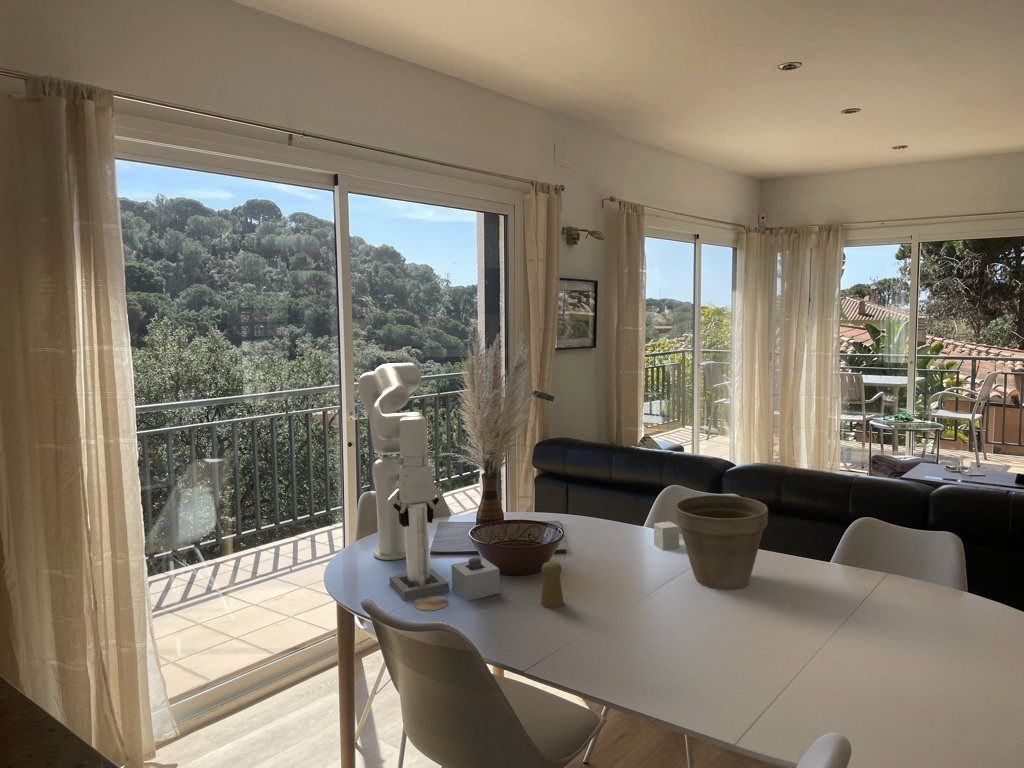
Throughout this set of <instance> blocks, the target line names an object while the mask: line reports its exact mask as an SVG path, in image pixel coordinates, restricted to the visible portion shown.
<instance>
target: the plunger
mask: <svg viewBox="0 0 1024 768" xmlns="http://www.w3.org/2000/svg"><path fill="white" fill-rule="evenodd" d="M481 559H482V558H479V557H471V558H469V559H468V561H469V569H470V570H476V569H481Z"/></svg>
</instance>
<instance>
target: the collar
mask: <svg viewBox="0 0 1024 768" xmlns="http://www.w3.org/2000/svg"><path fill="white" fill-rule="evenodd" d="M388 581H389V586H390V587H391V588H392V590H393V591H394V592H397V593H396V594H397V595H398V596H399V597H400V598H401V599H402V600H403V601H405V602H407V601H411V600H416V599H420V597H421V598H423V597H428V596H435V595H440V594H444V593H449V592H450V582H449V581H448V580H447V579H445V578H444V577H443V576H442V575H441V574H439V573H438V572H437V571H436V570H435V569H434V568H430V584H426V585H421V586H417V587H412V588H408V587H407V585H406V584H407V573H402V574H396V575H391V576H389V579H388ZM415 598H416V599H415Z"/></svg>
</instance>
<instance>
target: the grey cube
mask: <svg viewBox="0 0 1024 768" xmlns="http://www.w3.org/2000/svg"><path fill="white" fill-rule="evenodd" d="M653 545H654V546H655V547H657V548H659V549H660V550H662V551H669V550H676V549H679V548H680V526H679V525H678V524H676V523H673V522H671V521H663V522H654V523H653Z"/></svg>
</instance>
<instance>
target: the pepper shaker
mask: <svg viewBox="0 0 1024 768" xmlns="http://www.w3.org/2000/svg"><path fill="white" fill-rule="evenodd" d="M562 568H563V567H562V565H561V564H560V563H559V562H557V561H546V562H544V563H543V564H542V566H541V573H542V575H543V581H542V591H541V597H540V599H541V600H540V605H541V606H542V607H544V608H547V607H548V609H556V608H561V607H562V606H564V604H565V602H564V596H563V590H562V582H561V577H560V576H561V574H562V571H563V570H562Z"/></svg>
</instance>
